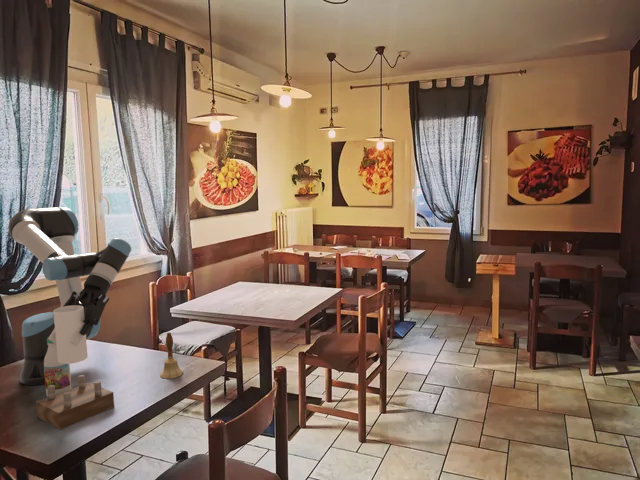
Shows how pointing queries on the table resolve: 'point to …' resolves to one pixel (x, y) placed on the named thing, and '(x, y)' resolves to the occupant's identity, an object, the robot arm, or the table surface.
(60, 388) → the milk bottle
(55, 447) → the table surface
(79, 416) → the riser
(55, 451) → the table surface
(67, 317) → the cup
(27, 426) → the table surface
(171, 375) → the hand bell
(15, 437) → the table surface
